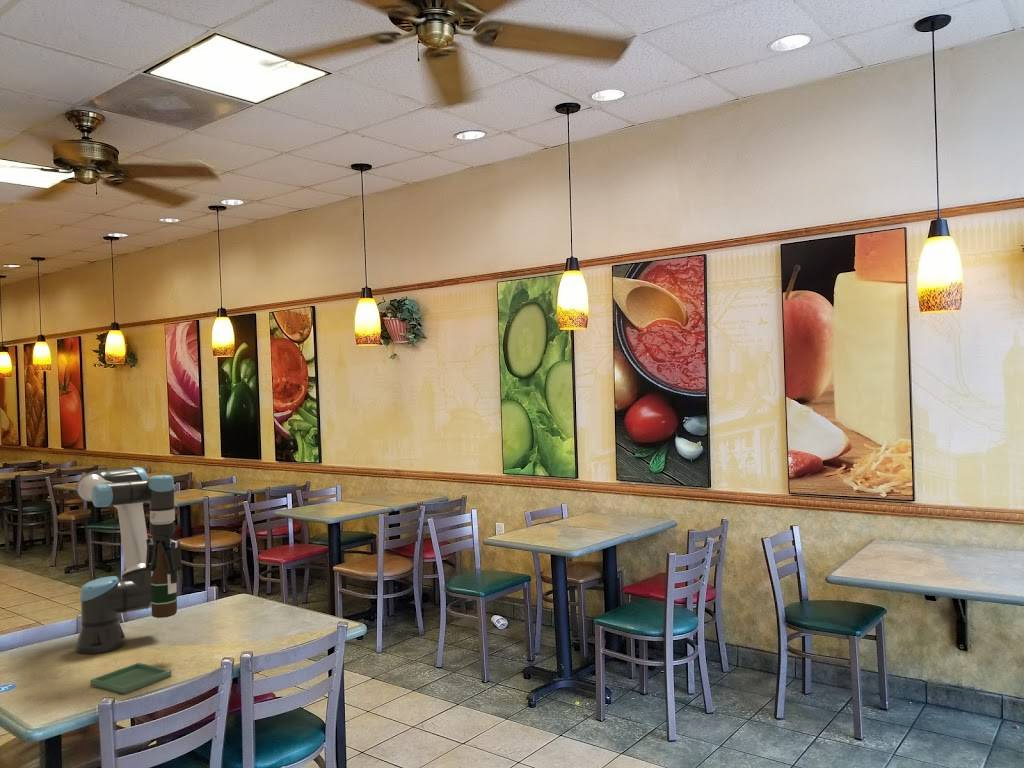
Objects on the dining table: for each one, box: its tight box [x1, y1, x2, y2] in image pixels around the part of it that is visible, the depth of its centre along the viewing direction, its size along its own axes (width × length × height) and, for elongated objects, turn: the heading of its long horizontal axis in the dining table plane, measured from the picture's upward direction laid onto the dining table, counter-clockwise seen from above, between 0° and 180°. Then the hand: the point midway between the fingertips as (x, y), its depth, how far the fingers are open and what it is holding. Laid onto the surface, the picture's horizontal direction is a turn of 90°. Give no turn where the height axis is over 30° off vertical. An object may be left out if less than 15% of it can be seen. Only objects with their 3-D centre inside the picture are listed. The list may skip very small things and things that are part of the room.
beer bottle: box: [151, 543, 178, 619], centre depth 257 cm, size 8×8×24 cm
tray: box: [90, 662, 172, 695], centre depth 238 cm, size 16×16×2 cm
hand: (164, 591), depth 257 cm, fingers closed on beer bottle, 7 cm apart
